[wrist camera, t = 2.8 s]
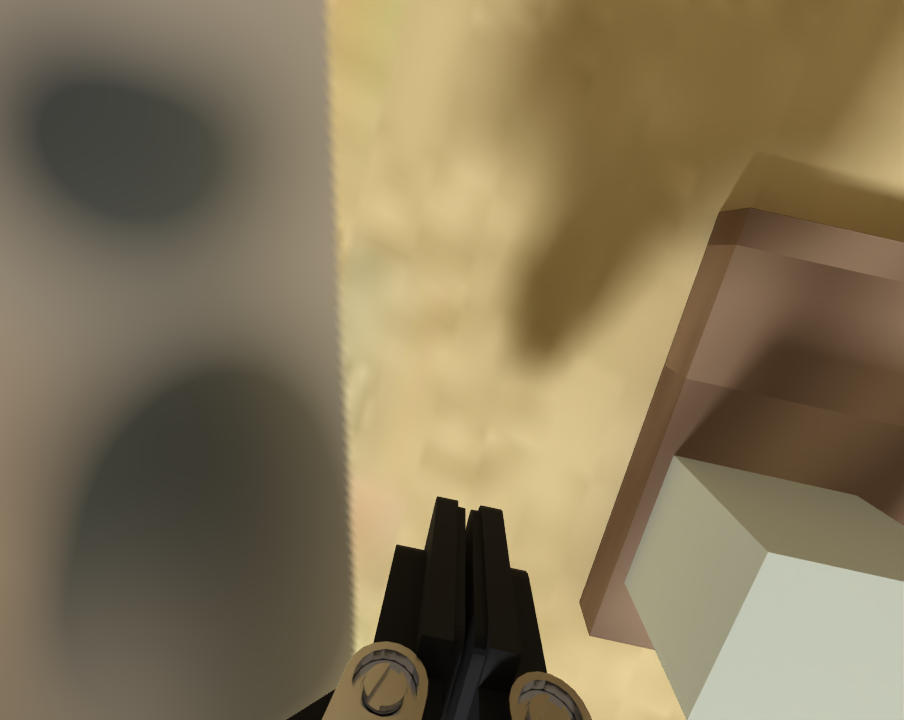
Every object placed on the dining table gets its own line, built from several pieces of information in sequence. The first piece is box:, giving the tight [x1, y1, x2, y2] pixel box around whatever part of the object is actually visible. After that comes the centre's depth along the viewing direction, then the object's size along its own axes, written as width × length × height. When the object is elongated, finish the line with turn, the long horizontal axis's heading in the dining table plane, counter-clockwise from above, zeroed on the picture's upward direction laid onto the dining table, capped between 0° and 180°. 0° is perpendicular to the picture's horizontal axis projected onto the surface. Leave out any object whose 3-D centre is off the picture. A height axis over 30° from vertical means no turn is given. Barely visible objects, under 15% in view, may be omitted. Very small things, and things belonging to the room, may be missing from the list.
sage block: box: [625, 455, 904, 720], centre depth 12 cm, size 6×5×4 cm
